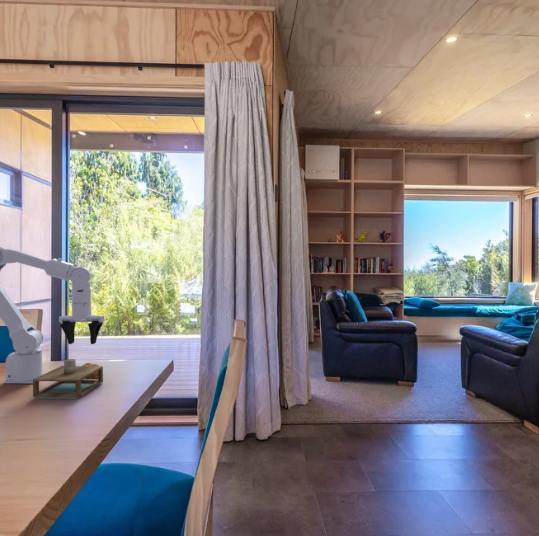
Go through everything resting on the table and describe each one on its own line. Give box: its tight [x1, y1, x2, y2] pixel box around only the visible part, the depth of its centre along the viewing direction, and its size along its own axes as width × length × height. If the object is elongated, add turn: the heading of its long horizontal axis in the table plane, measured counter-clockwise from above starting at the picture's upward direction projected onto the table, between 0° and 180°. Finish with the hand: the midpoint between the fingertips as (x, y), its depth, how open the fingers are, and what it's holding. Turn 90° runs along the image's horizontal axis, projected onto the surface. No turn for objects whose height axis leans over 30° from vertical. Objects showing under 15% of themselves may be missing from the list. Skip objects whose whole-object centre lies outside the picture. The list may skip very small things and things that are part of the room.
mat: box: [34, 383, 99, 400], centre depth 106 cm, size 12×12×1 cm
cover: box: [32, 358, 104, 398], centre depth 106 cm, size 13×13×8 cm
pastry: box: [81, 362, 100, 379], centre depth 120 cm, size 9×7×4 cm
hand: (82, 343), depth 121 cm, fingers open, 7 cm apart
